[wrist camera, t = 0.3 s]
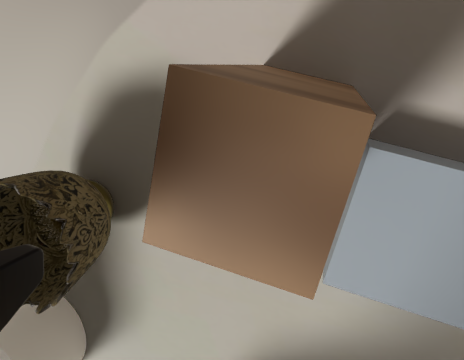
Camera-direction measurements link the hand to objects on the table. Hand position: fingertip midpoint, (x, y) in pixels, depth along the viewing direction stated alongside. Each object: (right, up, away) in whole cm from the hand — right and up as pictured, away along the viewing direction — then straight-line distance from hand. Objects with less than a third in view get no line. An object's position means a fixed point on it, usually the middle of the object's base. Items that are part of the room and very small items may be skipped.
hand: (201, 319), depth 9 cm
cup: (-9, +2, +18) cm, 20 cm away
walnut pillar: (+4, +7, +13) cm, 15 cm away
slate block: (+11, +1, +13) cm, 17 cm away
